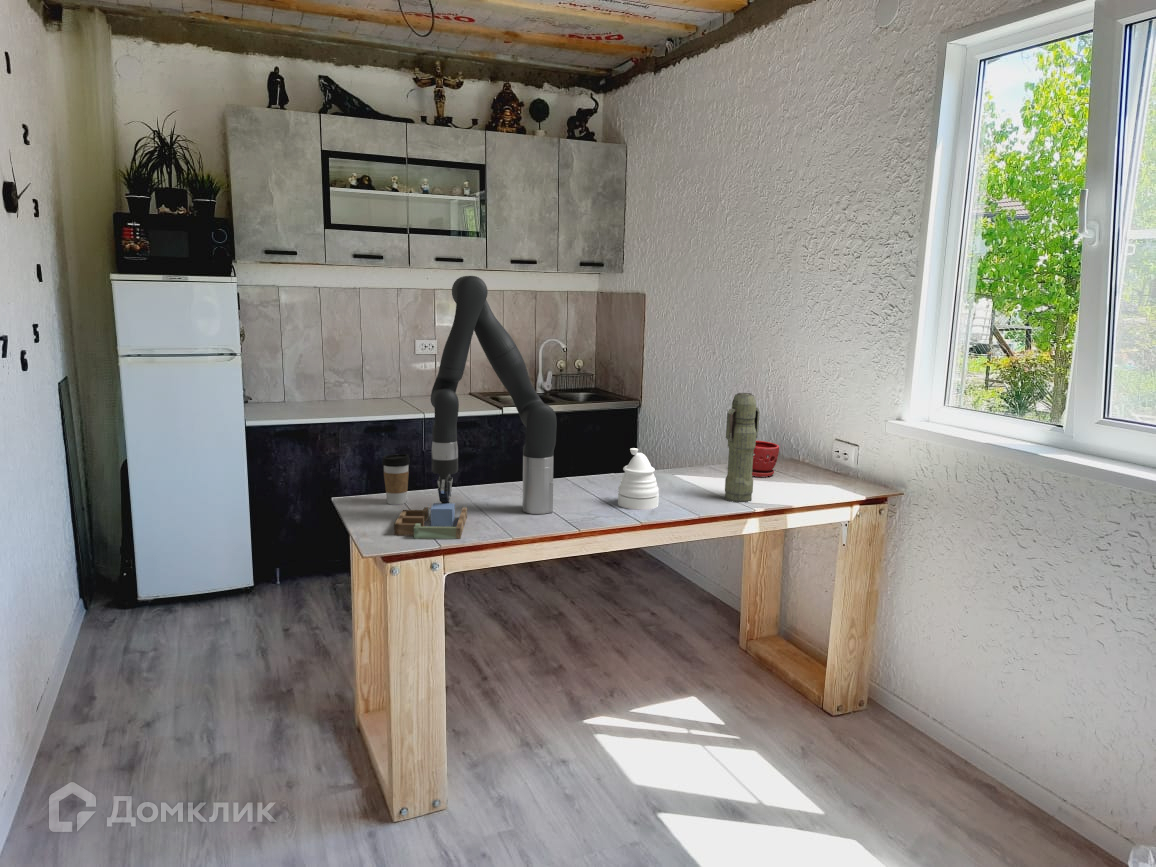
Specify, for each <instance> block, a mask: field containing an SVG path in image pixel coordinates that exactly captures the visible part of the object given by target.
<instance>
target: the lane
mask: <svg viewBox="0 0 1156 867" xmlns="http://www.w3.org/2000/svg"><path fill="white" fill-rule="evenodd" d="M429 517H430V516H429V507H427V506H426V507H423V508H422V509H403V510H402V511H401V512H400V514H399V515H398V517H397V519H396V521H395V523H394V525H393V535H394V536H413V539H420V540H421V539H423V540H424V539H426V540H427V539H428V540H431V539H432V540H435V539H436V540H437V539H438V540H440V539H441V540H442V539H443V540H447V539H448V540H452V539H453V540H461V538H462V535H463V532H464V529H465V525H466V522H467V518H468V507H462V509H461V511H460V515H459V517H458V521H457V523H456V526H425V522H428V520H429Z"/></svg>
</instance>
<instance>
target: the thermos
mask: <svg viewBox="0 0 1156 867" xmlns="http://www.w3.org/2000/svg"><path fill="white" fill-rule="evenodd" d="M726 414H727V415H726V429H725V430H726V431H725V438H726V440H727V447H728V460H727V474H726V477H725V479H724V480H725V481H724V482H725V483H724V492H725V495H724V499H725V501H728V500H729V501H728V502H732V501H733V502H732V503H739V502H745V503H749V502H748V501H750V502H751V501H752V497H753V496H752V494H753V493H754V479H753V476H752V467H753V456H754V454H753V452H754V449H755V444H756V441H757V439H758V437H759V427H760V426H759V423H760V410H759V408H758V407H757V401H756V396H755V395H754V394H752V393H749V392H738V393H735V394H734V396H733V399H732V401H731V408H729V410H728V411H727V413H726Z"/></svg>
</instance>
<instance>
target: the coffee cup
mask: <svg viewBox="0 0 1156 867" xmlns="http://www.w3.org/2000/svg"><path fill="white" fill-rule="evenodd" d="M410 462H411V460H410V454H408V453H396V454H394V453H393V454H387V455H384V456H383V457H382V462H381V463H382V464H381V465H382V466H383V479H384V485H385V486H384V487H385V493H386V495H385V496H386V503H387V504H389V505H392V506H393V505H395V506H400V505H404V504H406V503H407V501H408V500H407V499H408V498H407V497H408V486H409V474H410V472H409V471H410V470H409V466H410V464H411V463H410Z"/></svg>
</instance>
